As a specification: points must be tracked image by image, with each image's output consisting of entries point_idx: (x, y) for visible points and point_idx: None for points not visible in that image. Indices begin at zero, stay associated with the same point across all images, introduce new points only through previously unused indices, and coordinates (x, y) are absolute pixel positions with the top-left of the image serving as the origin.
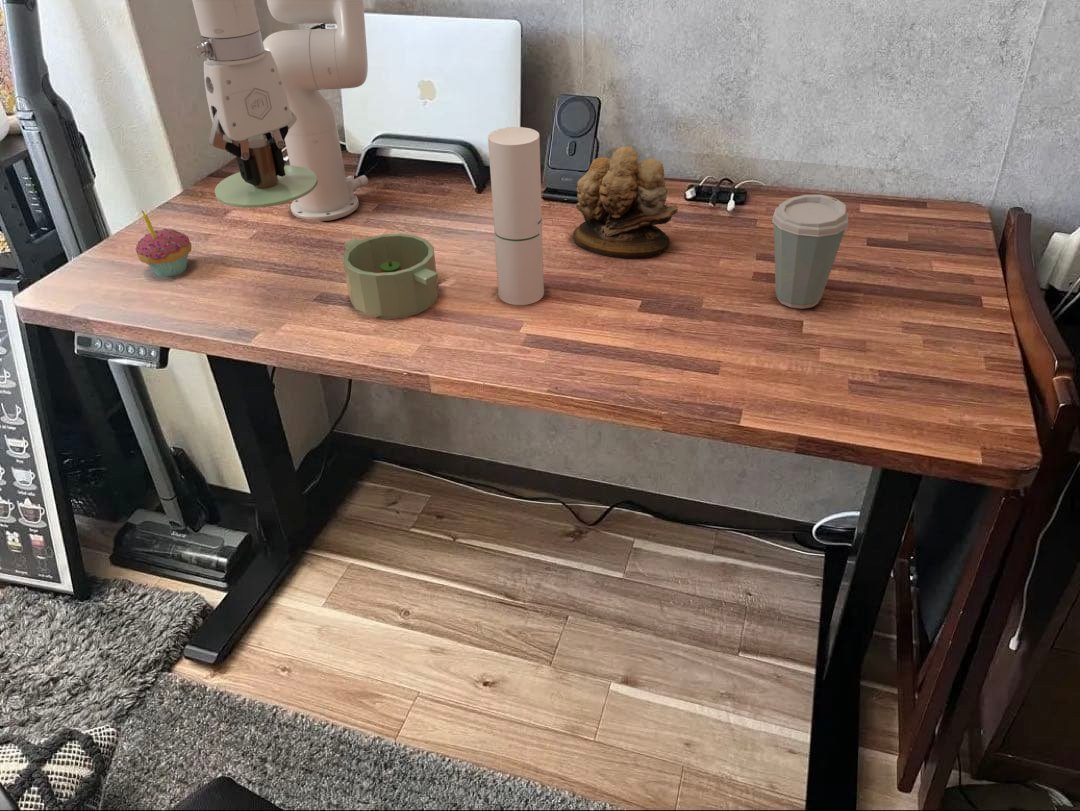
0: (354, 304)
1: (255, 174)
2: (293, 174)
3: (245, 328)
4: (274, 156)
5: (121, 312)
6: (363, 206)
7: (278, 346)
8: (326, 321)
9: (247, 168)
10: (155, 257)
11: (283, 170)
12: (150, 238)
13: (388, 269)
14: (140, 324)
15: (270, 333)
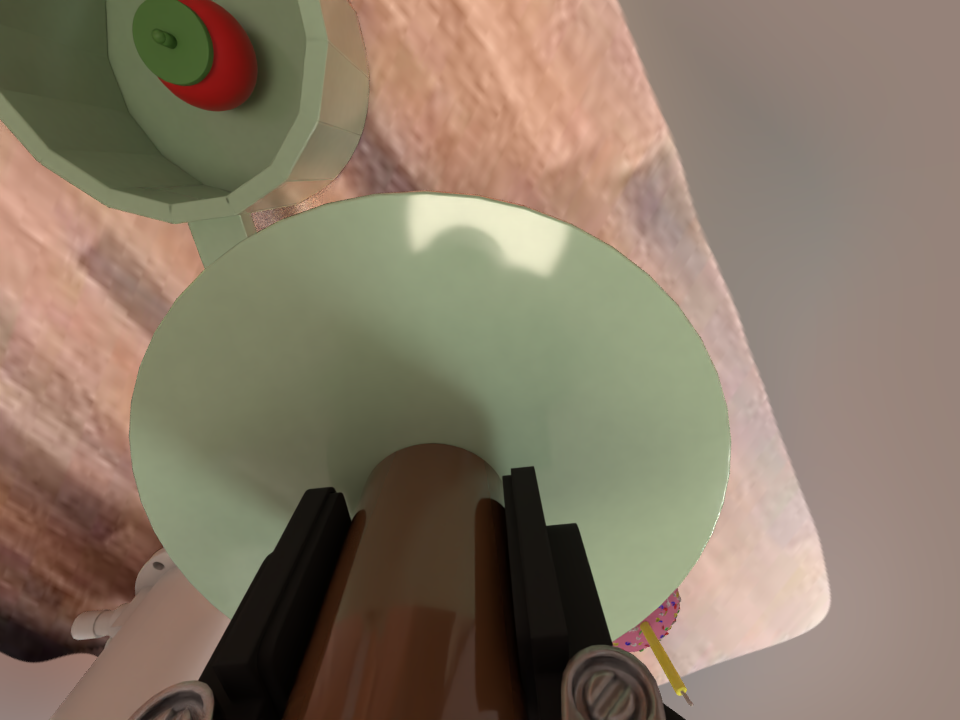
0: (366, 76)
1: (530, 516)
2: (252, 515)
3: (631, 227)
4: (300, 629)
5: (757, 476)
6: (139, 553)
7: (627, 68)
8: (462, 94)
9: (572, 586)
10: None
11: (303, 508)
12: (652, 628)
13: (187, 15)
14: (765, 410)
15: (603, 154)
